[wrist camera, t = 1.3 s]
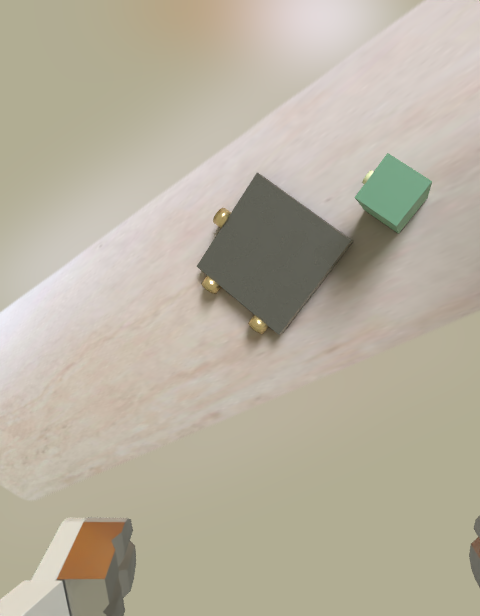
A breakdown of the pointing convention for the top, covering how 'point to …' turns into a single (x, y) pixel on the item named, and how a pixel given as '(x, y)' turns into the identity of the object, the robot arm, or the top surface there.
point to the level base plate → (270, 254)
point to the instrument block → (393, 192)
